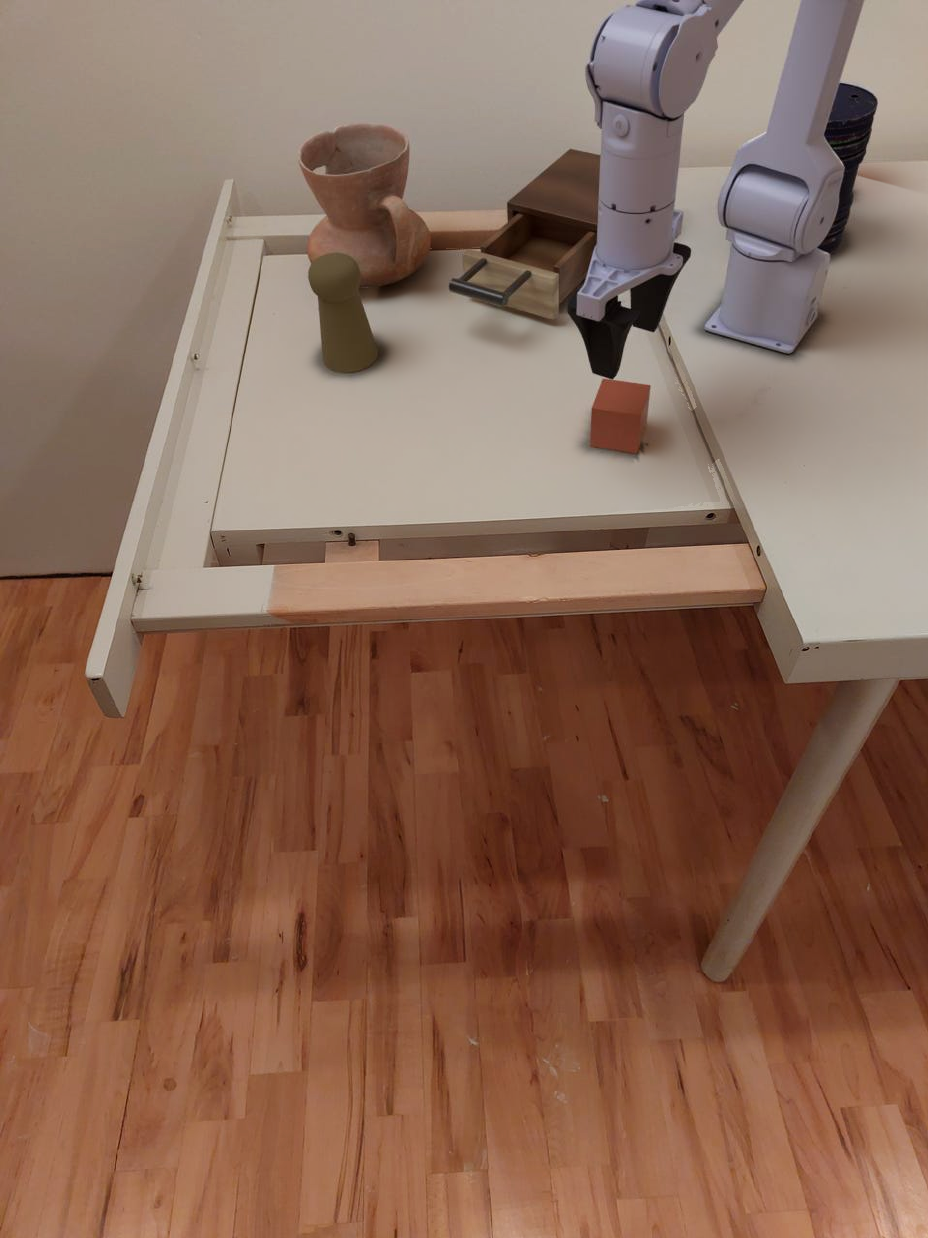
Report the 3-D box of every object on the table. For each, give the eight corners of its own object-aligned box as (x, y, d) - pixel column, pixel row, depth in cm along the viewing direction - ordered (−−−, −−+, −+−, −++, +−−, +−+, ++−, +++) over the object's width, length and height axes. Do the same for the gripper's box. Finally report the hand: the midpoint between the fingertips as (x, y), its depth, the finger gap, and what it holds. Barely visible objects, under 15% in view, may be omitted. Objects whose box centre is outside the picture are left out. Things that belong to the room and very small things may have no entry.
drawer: (523, 350, 93) (522, 303, 89) (433, 321, 98) (428, 276, 94) (612, 259, 103) (615, 213, 99) (527, 237, 108) (526, 192, 103)
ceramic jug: (288, 260, 110) (259, 139, 99) (390, 221, 114) (374, 101, 103) (357, 326, 100) (333, 200, 89) (466, 281, 104) (457, 155, 93)
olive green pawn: (370, 374, 94) (352, 278, 86) (315, 370, 95) (292, 275, 87) (384, 340, 98) (369, 244, 89) (331, 337, 99) (311, 242, 90)
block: (646, 423, 86) (650, 384, 83) (637, 453, 84) (640, 415, 80) (600, 416, 87) (602, 377, 84) (589, 446, 85) (591, 407, 81)
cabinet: (603, 282, 102) (606, 226, 97) (508, 256, 107) (506, 201, 102) (660, 223, 109) (665, 168, 104) (569, 201, 114) (570, 148, 109)
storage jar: (774, 267, 101) (803, 127, 90) (740, 225, 107) (763, 89, 96) (858, 251, 102) (897, 111, 90) (819, 211, 108) (851, 75, 97)
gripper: (641, 253, 62) (628, 410, 73) (726, 164, 70) (703, 319, 80) (553, 230, 65) (552, 385, 76) (643, 147, 72) (631, 299, 83)
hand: (624, 350), depth 78 cm, fingers open, 7 cm apart
